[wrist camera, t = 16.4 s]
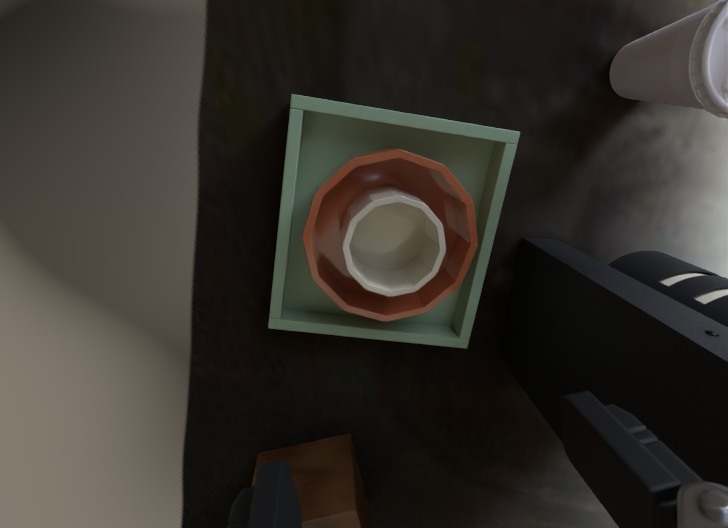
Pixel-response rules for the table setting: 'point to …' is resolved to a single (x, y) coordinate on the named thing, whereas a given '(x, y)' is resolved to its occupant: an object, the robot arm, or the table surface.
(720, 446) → the light fixture
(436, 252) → the small bowl
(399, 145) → the tray
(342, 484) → the block
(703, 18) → the lidded coffee cup
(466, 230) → the big bowl
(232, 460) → the table surface
